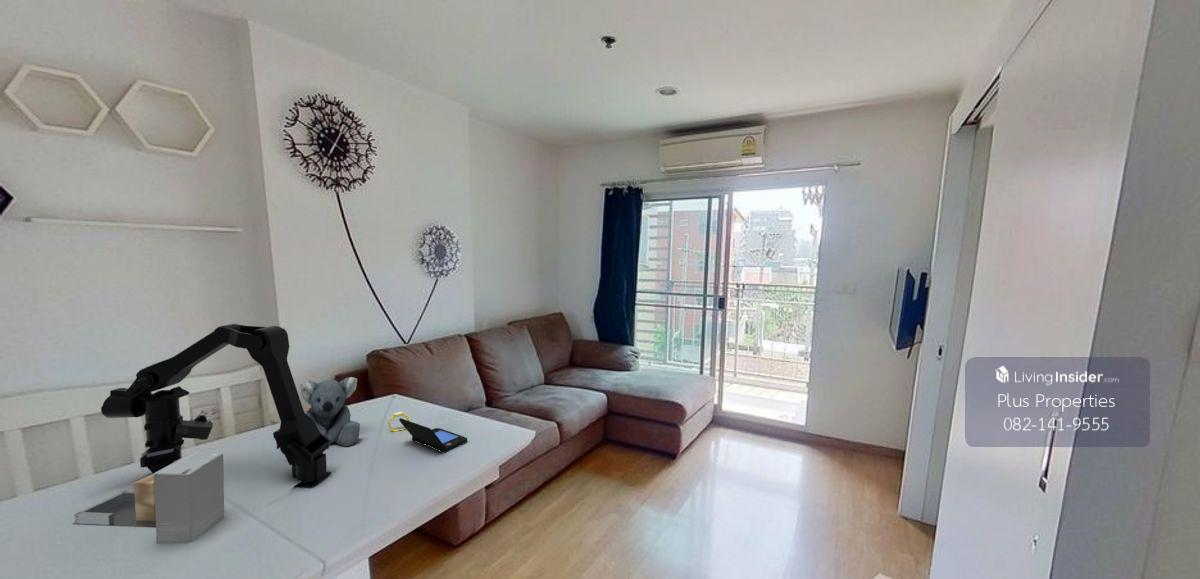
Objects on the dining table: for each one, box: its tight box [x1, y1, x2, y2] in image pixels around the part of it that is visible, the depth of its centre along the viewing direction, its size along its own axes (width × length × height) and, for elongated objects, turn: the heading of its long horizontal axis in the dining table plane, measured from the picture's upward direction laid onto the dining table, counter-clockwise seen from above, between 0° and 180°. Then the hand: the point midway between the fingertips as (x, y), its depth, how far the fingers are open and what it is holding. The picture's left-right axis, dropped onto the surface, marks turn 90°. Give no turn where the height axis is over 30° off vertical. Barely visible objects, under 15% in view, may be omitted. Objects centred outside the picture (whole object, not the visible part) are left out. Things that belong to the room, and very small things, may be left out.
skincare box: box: [154, 451, 225, 545], centre depth 81 cm, size 8×7×16 cm
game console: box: [398, 418, 468, 453], centre depth 124 cm, size 16×14×9 cm
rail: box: [72, 490, 156, 529], centre depth 87 cm, size 18×9×4 cm, turn 88°
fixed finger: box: [133, 474, 156, 521], centre depth 86 cm, size 5×5×8 cm
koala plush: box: [299, 376, 361, 447], centre depth 126 cm, size 17×18×20 cm
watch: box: [388, 411, 410, 432], centre depth 133 cm, size 6×3×6 cm, turn 113°
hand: (166, 478), depth 99 cm, fingers closed on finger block, 5 cm apart
